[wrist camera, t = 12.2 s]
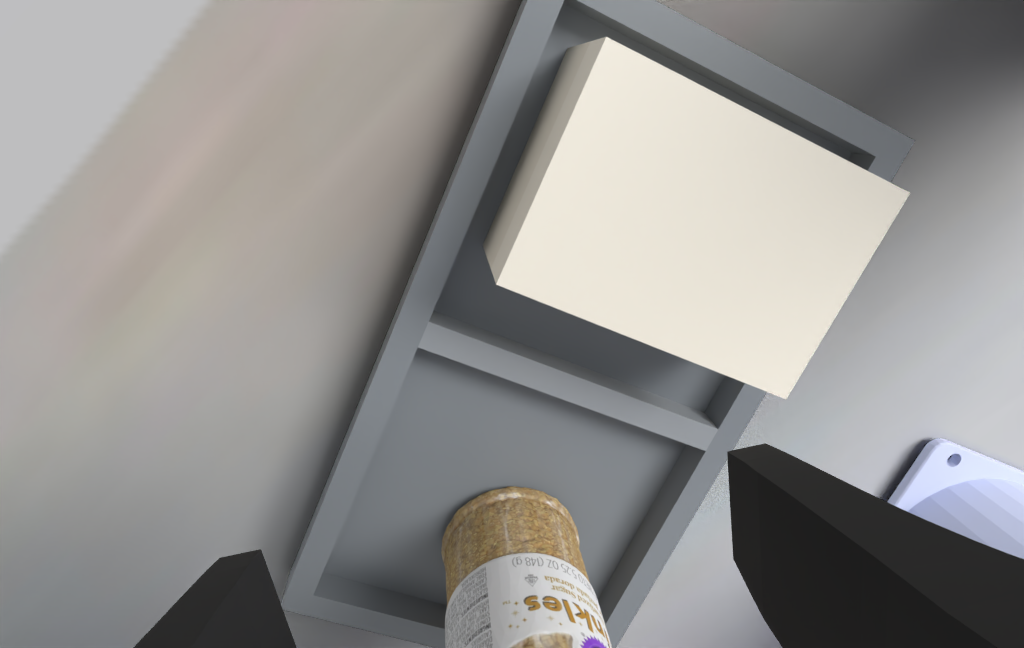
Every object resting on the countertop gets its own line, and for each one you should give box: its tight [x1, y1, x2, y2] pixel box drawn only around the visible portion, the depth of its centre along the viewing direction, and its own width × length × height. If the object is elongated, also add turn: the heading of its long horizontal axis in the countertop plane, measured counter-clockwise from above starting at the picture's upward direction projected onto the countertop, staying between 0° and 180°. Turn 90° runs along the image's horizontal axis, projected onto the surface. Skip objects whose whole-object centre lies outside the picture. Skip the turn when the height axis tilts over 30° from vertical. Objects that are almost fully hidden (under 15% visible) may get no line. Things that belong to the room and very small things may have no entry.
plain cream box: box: [483, 37, 910, 399], centre depth 17 cm, size 8×6×4 cm
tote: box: [281, 0, 915, 648], centre depth 20 cm, size 11×20×2 cm, turn 156°
